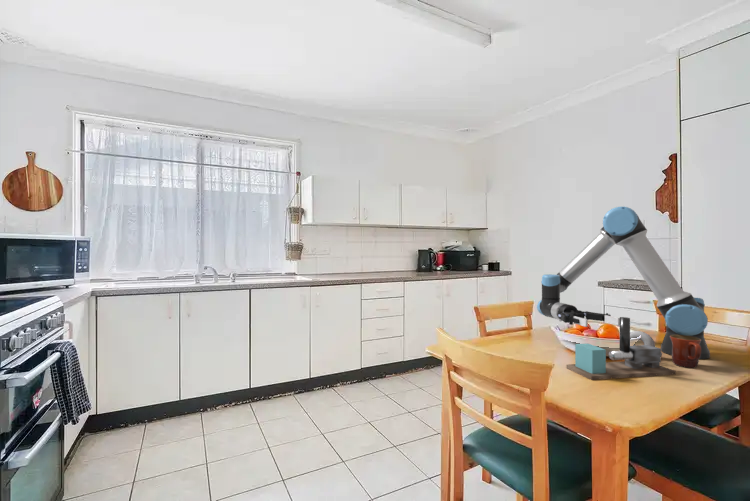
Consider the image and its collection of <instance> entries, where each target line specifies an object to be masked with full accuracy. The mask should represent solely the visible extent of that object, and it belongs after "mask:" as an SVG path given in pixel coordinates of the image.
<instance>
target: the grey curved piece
mask: <svg viewBox="0 0 750 501" xmlns="http://www.w3.org/2000/svg"><path fill="white" fill-rule="evenodd" d="M640 335H641V338H640V339H638V340H640V341H642V343H643V345H650V346H654V347H656V345H655V344H656V343H655V341H654V338H653V337H652V336H651V335H650V334H648V333H646V332H645V331H641V330H632V331H630V339H631V338H637V337H639V336H640ZM633 346H637V345H636V343H635V344H634V345H633Z"/></svg>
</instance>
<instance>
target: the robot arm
mask: <svg viewBox="0 0 750 501" xmlns="http://www.w3.org/2000/svg"><path fill="white" fill-rule="evenodd" d="M602 218H603V219H602V227H601V228H600V230H599V233H598V235H597V236H595V237H594V238H593V240H591V241H590V242H589V243H588V244H587V245H586V246H585V247H584V248H583V249H582V250H581V251H580V252H579V253H578V254H576V255H575V257H574V258H572V259H571V260H570V261H569V262H568V263H567V264H566V265H565V266H564V267H563V268H561V270H559V272H558V273H556V274H543V275H542V276H541V299H540V300H539V301H538V303H537V305H536V309H537V312H538V313H539V314H540V315H543V316H545V317H547V318H551V319H555V320H558V321H559V322H563V323H565V324H567V323H568V324H569V325H571V326H573V325H578V326H582V327H586V328H587V327H589V326H588V323H589V322H588V321H597V322H598V321H599V322H604V323H607V324H609V325H610V324H611V325H615V326H619V327H620V317H615V316H611V314H610V313H608V312H606V313H601V312H592V311H588V310H585V311H583V310H578V308H577V307H576V306H575V305H572V304H568V303H565V302H561V293H564V292H565V291H566V290H567V289H568V287H569V286H571V285H572V283H575V281H576V280H577V279H578V278H580V277H581V275H583V274H584V273H585V272H586V271H587V270H588V269H589V268H590V267H591V266H593V265H594V263H596V262H598V260H599V259H601V257H602V256H604V255H605V254H606V253H607V252H609V250H610V249H611V248H612V247H613V246H615V245H617V246H620V247H623V249H624V251H625V252H626V254H627V255H628V256H629V258H630V260H631V261H632V263H633V264H634V266H635V268H636V269H637V271H638V272H639V274H640V275H641V276H642V278H643V280H644V281H645V282H646V284H647V285H648V287H649V289H650V290H651V292H652V293H653V295H654V296H655V298H656V299H657V302H656V307H657V310H659V312H660V314H661V315H662V317H663V318H664V322H665V326H666V328H665V330H666V331H665V335H664V336H663V337H664V338H663V340H662V343H661V344H660V348H661V352H662V353H664V354H667V355H670V356H672V341H671V338H670V335H685V336H693V337H697V338H700V339H701V342H700V344H699V345H700V346H701V356H700V358H699V360H705V359H709V358H710V357H711V352H710V350H709V347H708V345H707V344H708V343H707V342H706V339H705V335H704V334H705V329H706V328H707V326H708V322H709V321H708V316H707V314H706V313H705V300H704V299H703V298H701V297H694V296H693V295H692V293H691V292H687V291H684V290H683V289H682V287H681V285H680V283H678V281H677V280H676V278H675V277H674V275H673V273H672V272H671V271H670V269H669V268H668V266H667V265H666V263H665V262H664V260H663V259H662V257H660V255H659V253H658V252H657V250H656V249H655V247H654V246H653V244H652V243H651V242H650V241H649V239H648V238H647V232H648V229H647V228H646V226H645V225H644V223H643V222H642V220H641V219H640V217H639V215H638V214H637V213H636V212H635V210H634V209H632V208H630V207H628V206H616V207H613V208H611V209H609V210H608V211H607V212H606V213H605V214H604V215H603V217H602Z"/></svg>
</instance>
